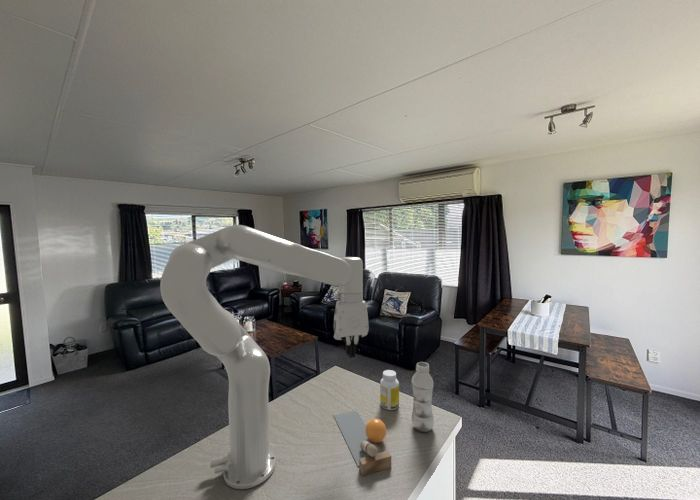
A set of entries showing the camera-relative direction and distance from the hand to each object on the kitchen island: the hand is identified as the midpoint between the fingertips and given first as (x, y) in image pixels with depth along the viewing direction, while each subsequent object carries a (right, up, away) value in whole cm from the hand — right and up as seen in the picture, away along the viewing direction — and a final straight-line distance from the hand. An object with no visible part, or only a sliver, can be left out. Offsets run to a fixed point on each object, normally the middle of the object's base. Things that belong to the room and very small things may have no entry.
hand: (351, 355), depth 88 cm
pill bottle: (+14, -22, +11) cm, 28 cm away
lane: (+2, -22, -4) cm, 23 cm away
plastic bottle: (+22, -22, -1) cm, 31 cm away
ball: (+7, -19, -6) cm, 22 cm away
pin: (+4, -22, -9) cm, 24 cm away
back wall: (+6, -23, -16) cm, 29 cm away
